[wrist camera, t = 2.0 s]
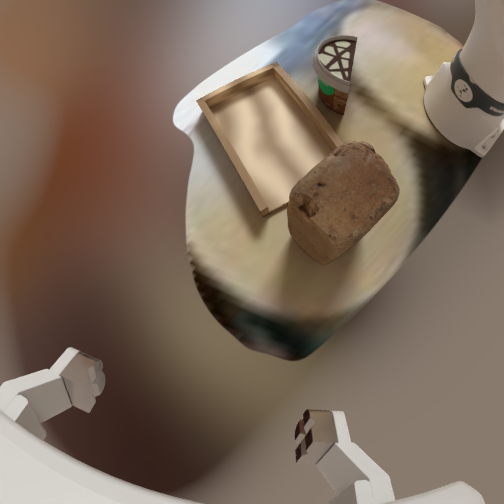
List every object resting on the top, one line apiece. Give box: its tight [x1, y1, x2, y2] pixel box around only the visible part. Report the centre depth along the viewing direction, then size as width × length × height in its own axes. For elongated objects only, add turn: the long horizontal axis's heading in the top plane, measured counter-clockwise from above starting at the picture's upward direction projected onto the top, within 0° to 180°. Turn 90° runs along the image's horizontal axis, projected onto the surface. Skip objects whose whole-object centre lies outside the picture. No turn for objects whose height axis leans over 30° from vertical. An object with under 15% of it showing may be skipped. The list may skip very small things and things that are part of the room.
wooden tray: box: [197, 62, 343, 217], centre depth 40 cm, size 15×22×4 cm
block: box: [287, 141, 399, 265], centre depth 29 cm, size 11×8×20 cm
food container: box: [313, 35, 357, 115], centre depth 36 cm, size 12×6×10 cm, turn 164°
